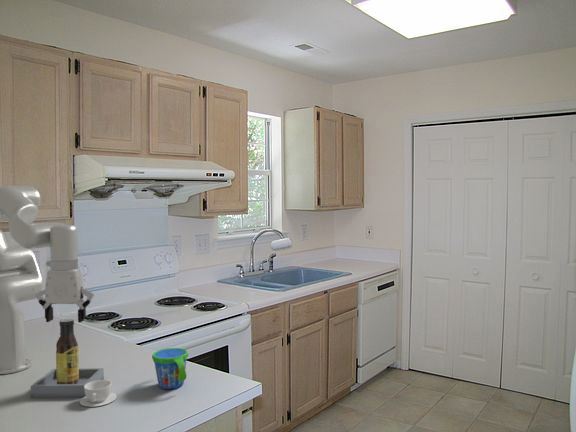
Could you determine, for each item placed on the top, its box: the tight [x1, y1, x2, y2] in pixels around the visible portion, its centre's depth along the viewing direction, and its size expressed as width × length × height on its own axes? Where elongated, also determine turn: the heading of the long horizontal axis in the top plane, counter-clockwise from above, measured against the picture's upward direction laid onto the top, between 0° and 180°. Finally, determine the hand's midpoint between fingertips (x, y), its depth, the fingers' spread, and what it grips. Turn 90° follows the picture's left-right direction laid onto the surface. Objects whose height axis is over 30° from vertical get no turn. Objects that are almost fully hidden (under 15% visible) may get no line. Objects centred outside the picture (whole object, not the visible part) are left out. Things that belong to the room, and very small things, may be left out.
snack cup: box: [151, 347, 189, 390], centre depth 153 cm, size 16×11×10 cm
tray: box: [30, 367, 105, 399], centre depth 152 cm, size 16×14×4 cm
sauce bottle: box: [55, 318, 80, 384], centre depth 152 cm, size 6×6×20 cm
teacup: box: [79, 379, 118, 408], centre depth 143 cm, size 10×10×5 cm
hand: (65, 321), depth 152 cm, fingers open, 9 cm apart
